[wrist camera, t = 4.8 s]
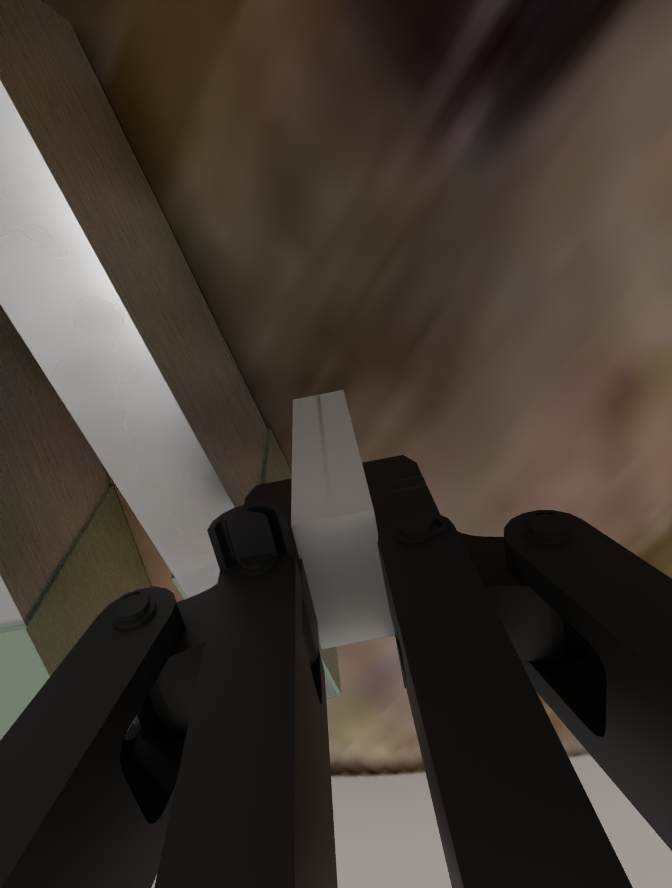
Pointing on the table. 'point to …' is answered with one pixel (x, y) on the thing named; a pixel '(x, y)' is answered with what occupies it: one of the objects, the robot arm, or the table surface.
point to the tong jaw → (119, 305)
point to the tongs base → (50, 530)
